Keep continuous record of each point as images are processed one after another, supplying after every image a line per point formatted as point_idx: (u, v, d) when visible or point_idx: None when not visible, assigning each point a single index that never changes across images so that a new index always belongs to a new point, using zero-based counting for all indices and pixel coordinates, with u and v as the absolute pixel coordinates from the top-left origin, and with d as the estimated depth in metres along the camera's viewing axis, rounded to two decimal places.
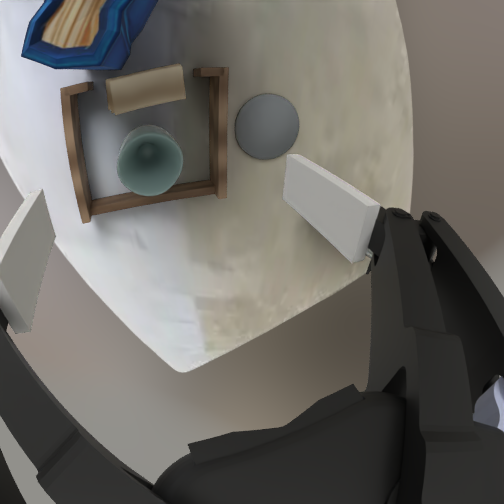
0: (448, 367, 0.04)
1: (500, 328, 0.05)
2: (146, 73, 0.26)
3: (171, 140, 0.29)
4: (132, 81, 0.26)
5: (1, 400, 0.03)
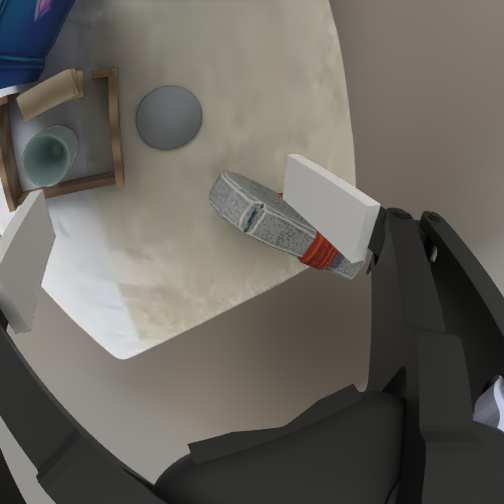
0: (448, 367, 0.04)
1: (500, 328, 0.05)
2: (41, 83, 0.25)
3: (59, 138, 0.29)
4: (32, 93, 0.25)
5: (1, 400, 0.03)
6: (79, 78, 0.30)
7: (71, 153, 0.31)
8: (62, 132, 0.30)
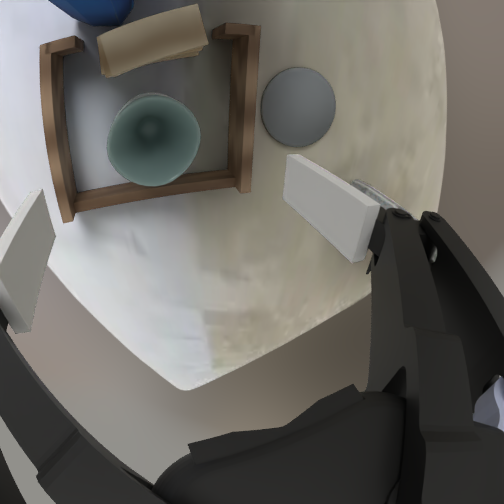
0: (448, 367, 0.04)
1: (500, 328, 0.05)
2: (149, 17, 0.16)
3: (185, 108, 0.20)
4: (131, 30, 0.16)
5: (1, 400, 0.03)
6: None
7: None
8: None
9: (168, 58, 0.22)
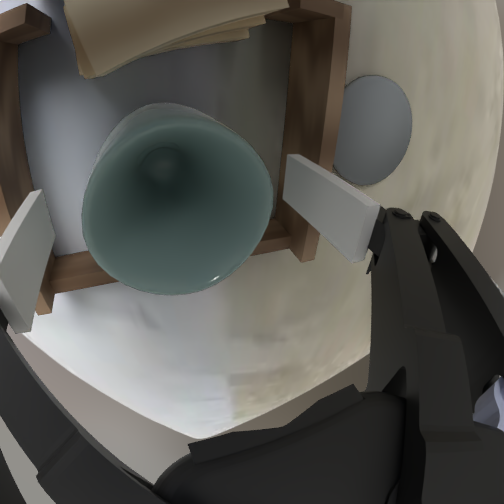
0: (448, 367, 0.04)
1: (500, 328, 0.05)
2: None
3: (248, 148, 0.10)
4: None
5: (1, 400, 0.03)
6: None
7: None
8: None
9: (199, 38, 0.12)
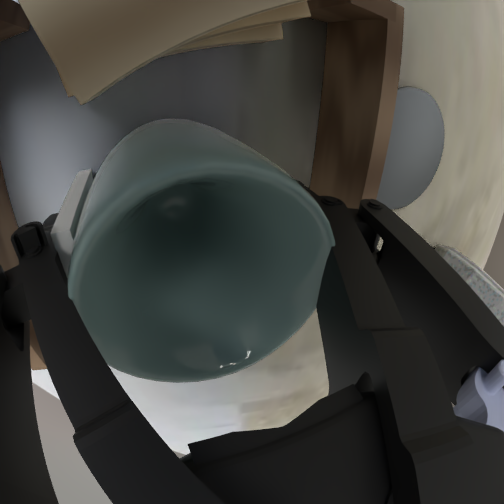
0: (416, 366, 0.04)
1: (471, 320, 0.06)
2: None
3: (313, 204, 0.07)
4: None
5: (53, 357, 0.04)
6: None
7: None
8: None
9: (221, 35, 0.09)
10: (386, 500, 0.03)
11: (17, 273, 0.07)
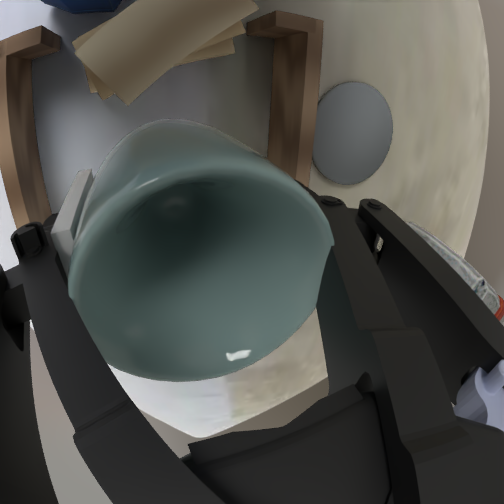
0: (416, 366, 0.04)
1: (471, 320, 0.06)
2: None
3: (312, 204, 0.07)
4: (124, 24, 0.09)
5: (53, 357, 0.04)
6: None
7: None
8: None
9: None
10: (386, 500, 0.03)
11: (17, 273, 0.07)
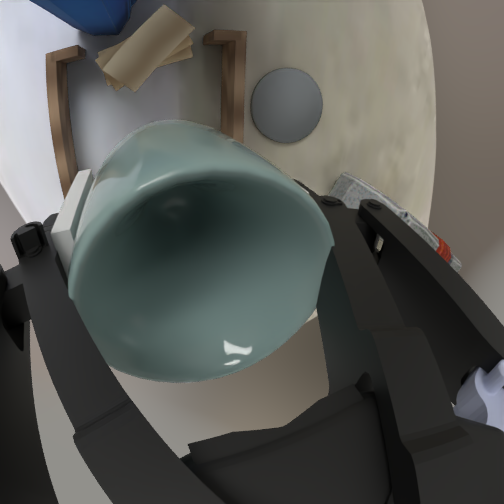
0: (417, 366, 0.04)
1: (471, 320, 0.06)
2: (133, 35, 0.18)
3: (312, 205, 0.07)
4: (125, 51, 0.19)
5: (53, 357, 0.04)
6: None
7: None
8: None
9: (165, 58, 0.25)
10: (386, 500, 0.03)
11: (17, 273, 0.07)
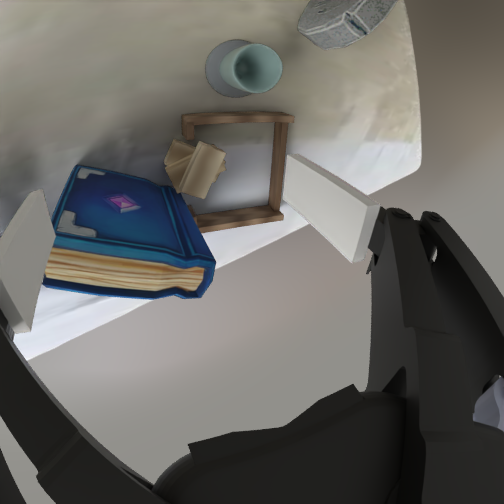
0: (448, 367, 0.04)
1: (500, 328, 0.05)
2: (213, 176, 0.45)
3: (276, 53, 0.34)
4: (215, 166, 0.44)
5: (1, 400, 0.03)
6: (169, 158, 0.45)
7: None
8: None
9: (180, 160, 0.46)
10: (392, 489, 0.03)
11: None
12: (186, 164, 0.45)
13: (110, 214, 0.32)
